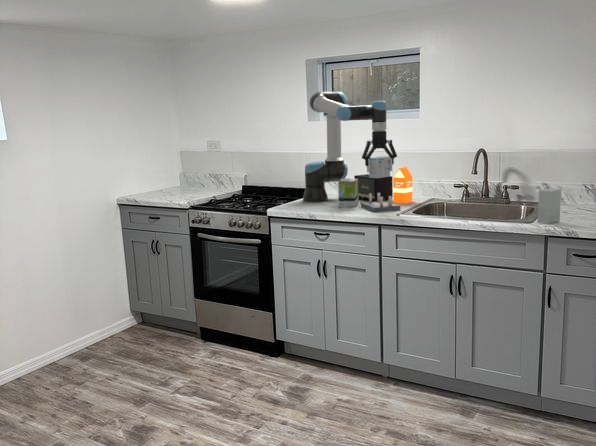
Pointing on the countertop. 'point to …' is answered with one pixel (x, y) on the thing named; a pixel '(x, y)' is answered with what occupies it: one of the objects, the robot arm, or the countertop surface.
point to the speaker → (374, 187)
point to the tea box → (347, 192)
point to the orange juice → (402, 186)
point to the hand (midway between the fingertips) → (379, 171)
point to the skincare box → (549, 206)
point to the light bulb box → (379, 167)
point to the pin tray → (380, 209)
